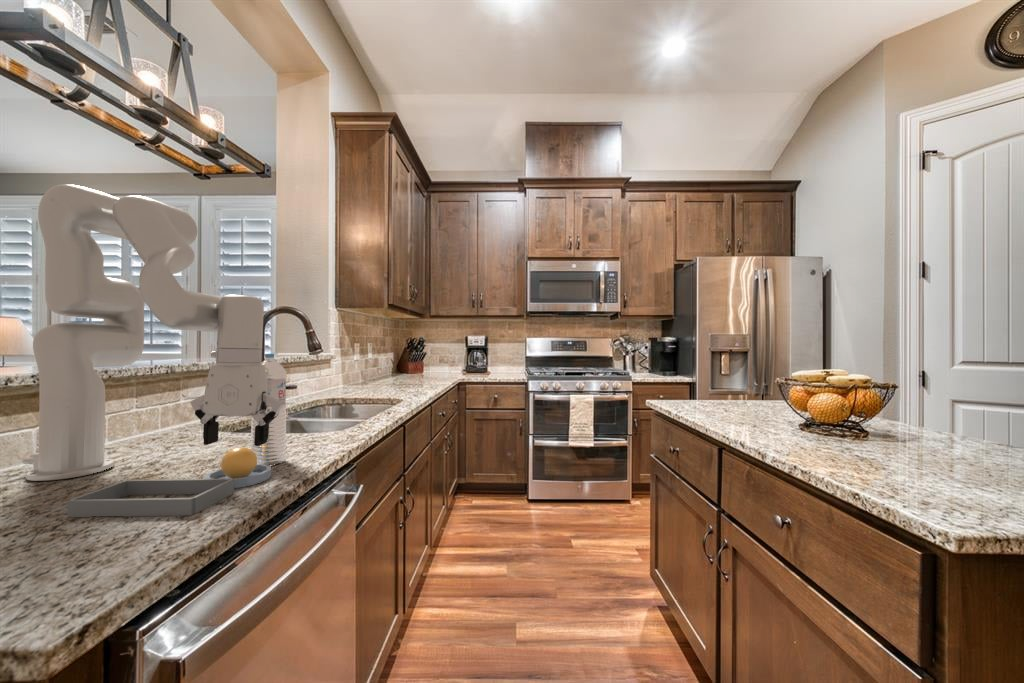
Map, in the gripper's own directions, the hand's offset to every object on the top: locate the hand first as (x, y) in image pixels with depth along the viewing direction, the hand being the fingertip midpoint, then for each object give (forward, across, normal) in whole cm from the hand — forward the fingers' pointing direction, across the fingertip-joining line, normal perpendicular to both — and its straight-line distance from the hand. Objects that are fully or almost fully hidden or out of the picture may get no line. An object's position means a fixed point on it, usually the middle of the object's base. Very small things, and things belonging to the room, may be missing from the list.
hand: (235, 443), depth 80 cm
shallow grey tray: (+7, -5, -12) cm, 15 cm away
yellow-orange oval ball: (+7, +1, 0) cm, 7 cm away
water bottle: (+7, 0, +12) cm, 14 cm away
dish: (+7, +1, 0) cm, 7 cm away
